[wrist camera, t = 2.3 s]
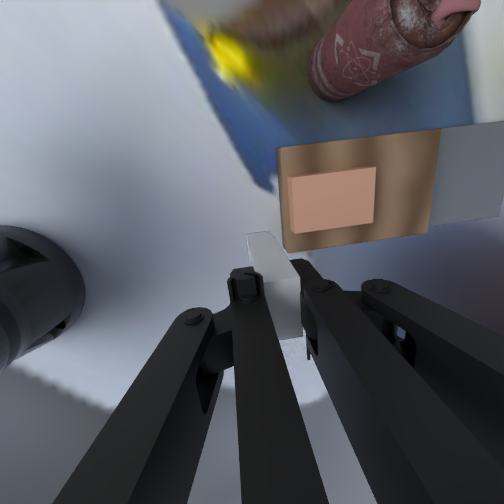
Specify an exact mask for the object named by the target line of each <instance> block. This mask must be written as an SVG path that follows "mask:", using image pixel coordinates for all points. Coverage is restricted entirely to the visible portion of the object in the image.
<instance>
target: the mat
mask: <svg viewBox="0 0 504 504" xmlns="http://www.w3.org/2000/svg"><path fill="white" fill-rule="evenodd" d="M503 195H504V121H499V122H491V123H482V124H474V125H466V126H457V127H449V128H442V129H441V137H440V144H439V151H438V159H437V166H436V173H435V181H434V188H433V195H432V203H431V210H430V217H429V225H428V227H429V226H436V225H442V224H449V223H457V222H463V221H470V220H477V219H484V218H490V217H497V216H499V213H500V208H501V204H502V200H503Z"/></svg>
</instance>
